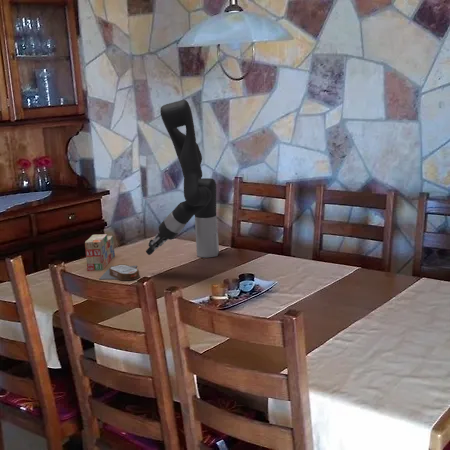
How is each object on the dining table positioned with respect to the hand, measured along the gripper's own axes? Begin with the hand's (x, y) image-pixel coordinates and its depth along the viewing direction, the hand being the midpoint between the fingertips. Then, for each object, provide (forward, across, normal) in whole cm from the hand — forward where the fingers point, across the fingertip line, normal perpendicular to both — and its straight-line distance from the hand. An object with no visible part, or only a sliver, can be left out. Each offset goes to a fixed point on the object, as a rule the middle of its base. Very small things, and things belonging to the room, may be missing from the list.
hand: (148, 253), depth 248 cm
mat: (+15, +3, -3) cm, 15 cm away
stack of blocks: (+26, -6, -13) cm, 30 cm away
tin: (+9, +2, 0) cm, 9 cm away
